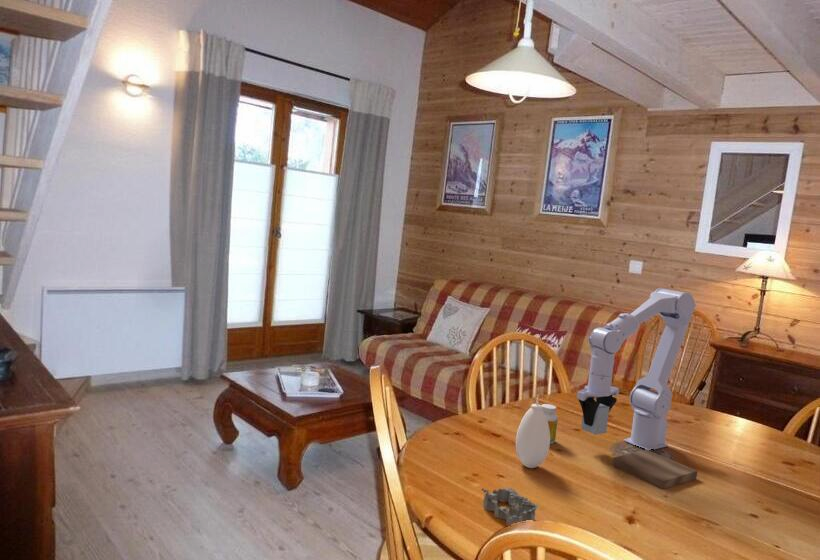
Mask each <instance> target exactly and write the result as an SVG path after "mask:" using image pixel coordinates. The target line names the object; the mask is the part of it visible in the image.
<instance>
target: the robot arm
mask: <svg viewBox="0 0 820 560" xmlns="http://www.w3.org/2000/svg"><path fill="white" fill-rule="evenodd" d="M696 307H697V304H696V302H695V298H694V296H693V294H692V293H690V292H687V291H686V292H685V291H684V292H683V291H678V290H672V289H667V288H664V287H658V288H657V289H655V291H652V292H651V293H650V295H649V298H648V299H647V300H646V301H645V302H643V303H642V304H641V305H640V306H638V307H637V308H635V310H634V311H632V312H631V313H627V312H626V313H625V312H623V313H620V314H619V315H618V316H617V317H616V318H615V319H614V320H612V321H610V322H608V323H606V324H605V326H603V327H601V326H600V327H596V328H594V329H593V330H592V331H591V333H590V335H589V336H588V339H587V340H588V344H589V346H590V351H589V352H590V354H591V356H590V364H589V374H588V383H587V385H585V386H584V388H583V389H581V390H578V391H577V394H576V399H577V400H578V402H579V404H580V407H581V410H582V417H584V424H586V425H589V426H592V425H593V422H594V417H595V413H596V410H597V408H598V406H599V404H603V405H606V406H608V407H610V408H609V413H610V412H611V410H612V408H613V407H614V406H615V404H616V403H617V402H618V401H617V400H618V399H617V398H616V396H619V393H620V391H619V390H620V388H618V387H616V386H612V379H613V373H614V365H615V364H614V362H615V358H616V357H615V356H616V355H615V354H616V352H618V351H619V350H620V349H621V347H622V344H624V343H625V341H626V340H627V339H628V338H630V337H631V336H632V335H634V334H635V333H637V332H638V330H639V329H640V325H641V324H642V323H644V322H646V321H648V320H649V319H651V318H652V317H654V316H656V315H659V316H660V317H661V319H662V320H663V321H664V323H665V327H664V330H663V332H662V334H661V338H660V339H659V340H660V341H659V342H658V345H657V349H656V351H655V353H654V357H653V359H652V362H651V364H650V367H649V370H648V373H647V375H646V376H645V377H643V378H641V379H638V380H637V382H636V384H635V386H634V387H633V389H632V390H631V392H630V393H629V403H630V405H631V407H632V411H633V419H632V424H631V425H632V426H631V434H630V437H627V438H624V439H623V441H624V442H626V443H628V444H630V445H633V446H635V445H636V446H635V447H637V446H639V447H638V448H640V447H642V448H645V449H647V450H650V451H652V450H651V449H654V450H658V449H661V448H665V447H668V446H669V445H668V444H667V443H666V438H667V430H668V420H667V417H666V416H667V414H668V413H669V411H670V409H671V403H672V397H673V392H672V391H671V389H670V388H669V385H668V381H669V379H670V376H671V373H672V371H673V367H674V365H675V362H676V361H677V357H678V354H679V352H680V349H681V346H682V344H683V341H684V338H685V335H686V334H687V330H688V327H689V324H690V323H691V322H690V321H691V319H692V317H693V315H694V312H695V308H696ZM614 396H615V397H614ZM642 448H641V449H642Z"/></svg>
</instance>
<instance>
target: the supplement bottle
mask: <svg viewBox="0 0 820 560" xmlns="http://www.w3.org/2000/svg"><path fill="white" fill-rule="evenodd" d="M540 405H541V406H542V410H543V412H544V414H545V416H546V418H547V421H548V425H549V431H550V445H553V444H555V442H556V436H557V428H558V418H559V417H558V415H557V414H556V413H557V406H555V405H553V404H549V403H548V404H547V403H543V404H540Z"/></svg>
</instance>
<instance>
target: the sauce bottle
mask: <svg viewBox="0 0 820 560" xmlns="http://www.w3.org/2000/svg"><path fill="white" fill-rule="evenodd" d="M539 399H540V398H539V394H537V396H536V401H535V403H532V404H530V408H529V409H528V410H527V411H526V412H525V414H524V415H523V417H522V418H521V421H520V423H519V426H518V427H517V432H516V437H515V449H516V454H517V457H518V459H519V461H520V463H521V462H522V464H523V466H525V467H527V468H529V469H534V468H537V467H538V466H539V465H542V464H543V463H544V462H545V459H546V458H547V456H548V453H549V449H550V445H551V444H550V431H549V425H548V421H547V418H546V416H545V414H544V412H543V410H542V406H541V405H542V404H539Z"/></svg>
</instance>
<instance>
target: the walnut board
mask: <svg viewBox="0 0 820 560" xmlns="http://www.w3.org/2000/svg"><path fill="white" fill-rule="evenodd" d="M612 467H615V468H617V469H619V470H621V471H623V472H625V473H628V474H629V475H632V476H634V477H636V478H638V479H640V480H642V481H644V482H647V483H648V484H651V485H653V486H655V487H657V488H660V489H662V490H665V489H668V488H671V487H675V486H677V485H678V486H679V485H681V484H684V483H688V482H690V481H693V480H696V479H697V476H698V475H697V474H698V470H696V469H694V468H691V467H689V466H686V465H684V464H681V463H679V462H677V461H675V460H672V459H670V458H668V457H666V456H664V455H661V454H658V453H656V452H653V451H652V450H650V451H649V450H644V449H642V450H638V451H635V452H631V453H627V454H623V455H620V456H615V457H613V458H612Z"/></svg>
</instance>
